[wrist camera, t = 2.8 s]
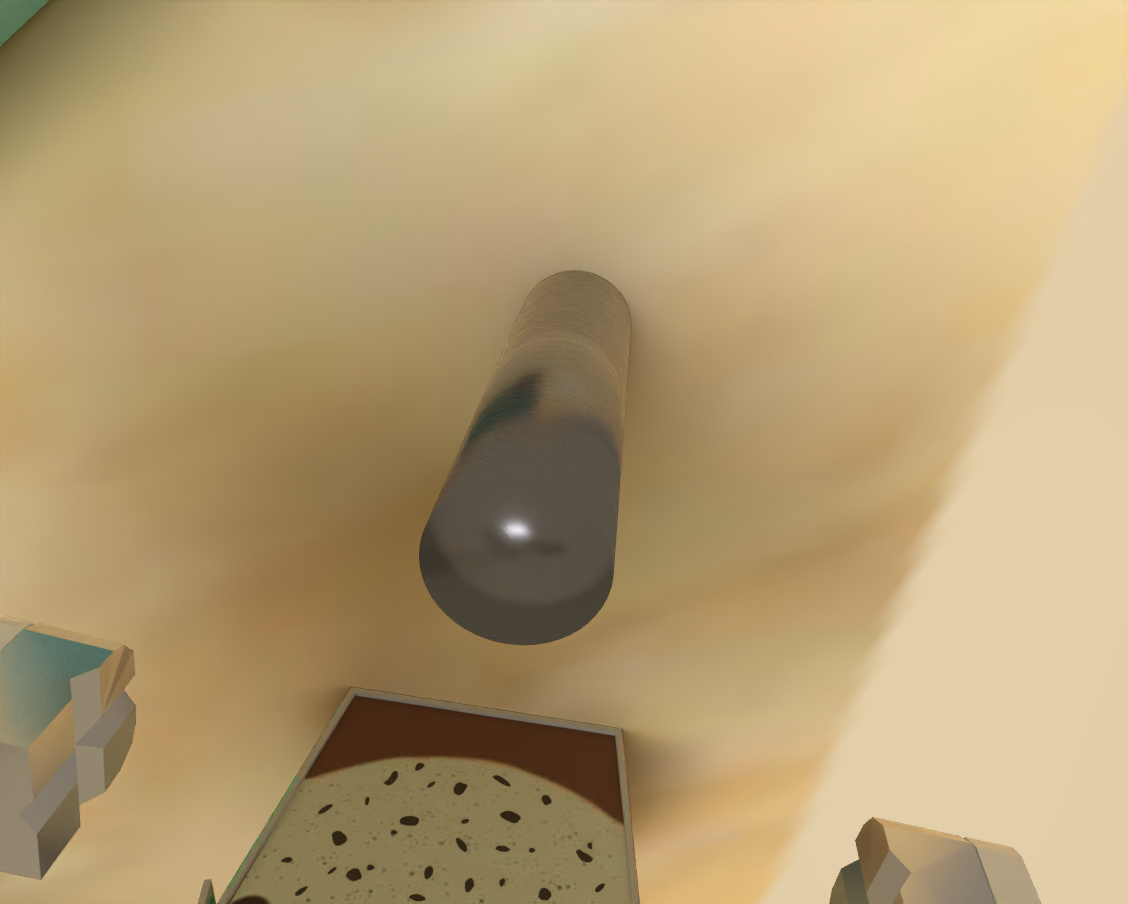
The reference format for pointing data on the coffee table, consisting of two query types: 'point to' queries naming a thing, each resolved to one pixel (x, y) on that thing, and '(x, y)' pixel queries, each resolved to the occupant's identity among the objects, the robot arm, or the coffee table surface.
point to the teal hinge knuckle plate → (16, 15)
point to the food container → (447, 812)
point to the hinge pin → (538, 473)
